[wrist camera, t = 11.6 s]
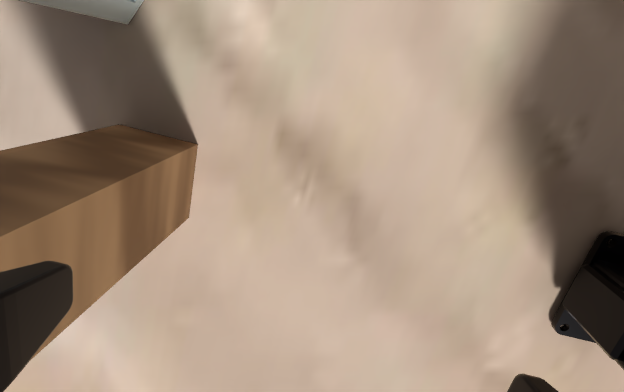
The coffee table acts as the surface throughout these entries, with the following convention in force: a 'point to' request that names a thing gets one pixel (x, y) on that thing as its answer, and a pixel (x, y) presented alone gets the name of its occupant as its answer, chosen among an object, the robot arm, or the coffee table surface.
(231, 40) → the coffee table surface
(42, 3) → the crate
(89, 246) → the walnut block
